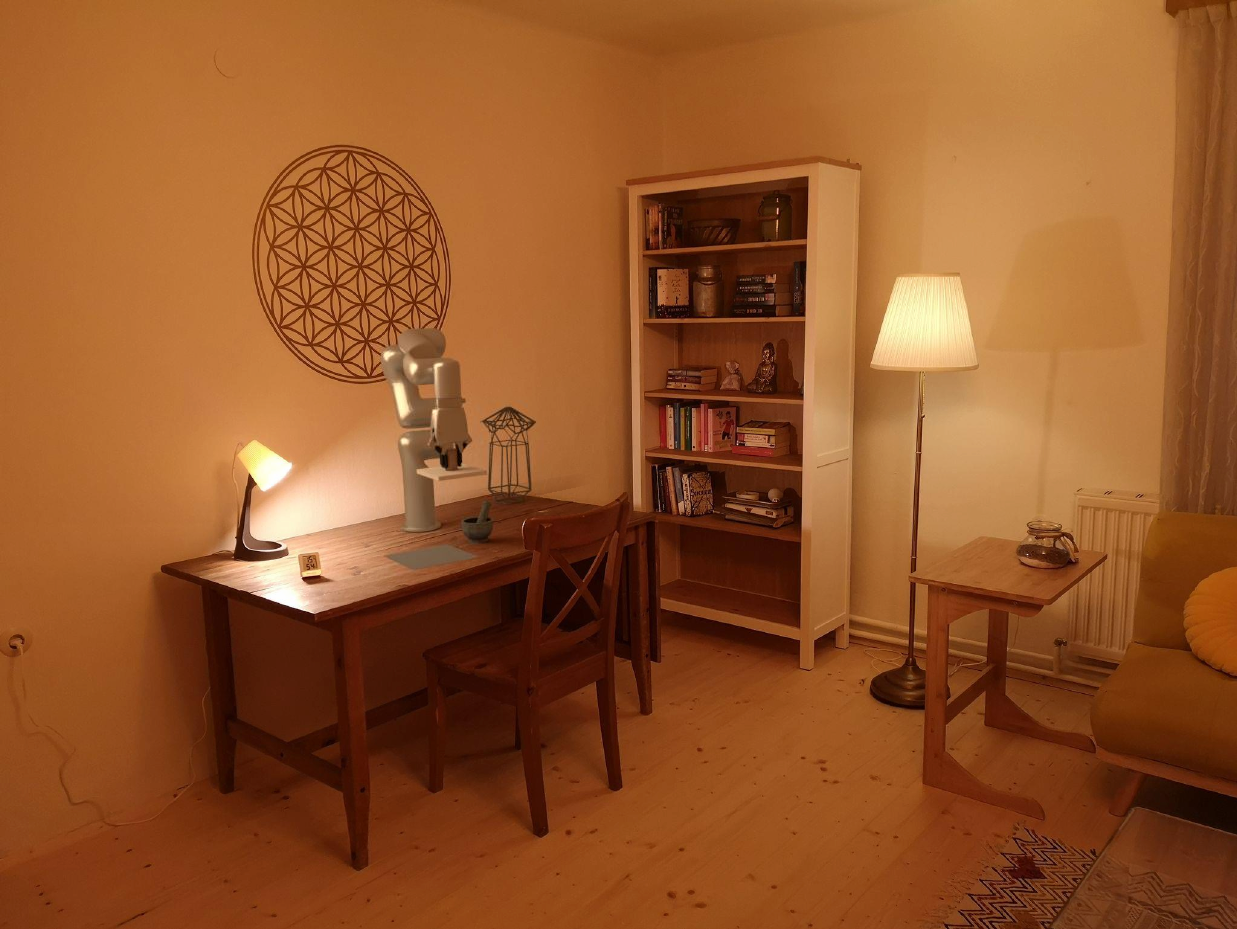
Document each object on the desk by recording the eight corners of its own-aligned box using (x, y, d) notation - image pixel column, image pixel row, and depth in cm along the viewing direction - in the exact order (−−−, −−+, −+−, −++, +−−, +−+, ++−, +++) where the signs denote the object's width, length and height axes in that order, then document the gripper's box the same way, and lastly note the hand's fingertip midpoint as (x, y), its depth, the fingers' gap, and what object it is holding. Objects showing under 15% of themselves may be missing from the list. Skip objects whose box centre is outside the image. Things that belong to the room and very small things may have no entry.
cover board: (416, 473, 279) (415, 449, 278) (463, 467, 287) (462, 443, 286) (438, 481, 267) (437, 455, 266) (487, 474, 275) (486, 449, 274)
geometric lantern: (515, 496, 361) (513, 403, 355) (539, 502, 349) (538, 407, 343) (479, 501, 351) (477, 406, 345) (503, 508, 339) (501, 410, 333)
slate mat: (383, 557, 274) (383, 555, 273) (446, 546, 285) (446, 544, 285) (413, 571, 258) (413, 569, 258) (479, 559, 269) (479, 556, 269)
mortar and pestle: (480, 547, 282) (478, 507, 281) (455, 544, 287) (453, 505, 285) (503, 539, 292) (501, 500, 290) (479, 536, 297) (477, 498, 295)
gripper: (468, 400, 281) (471, 462, 285) (415, 404, 272) (419, 468, 275) (480, 402, 275) (483, 465, 278) (426, 407, 266) (430, 472, 269)
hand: (451, 466), depth 277 cm, fingers closed on cover board, 3 cm apart
